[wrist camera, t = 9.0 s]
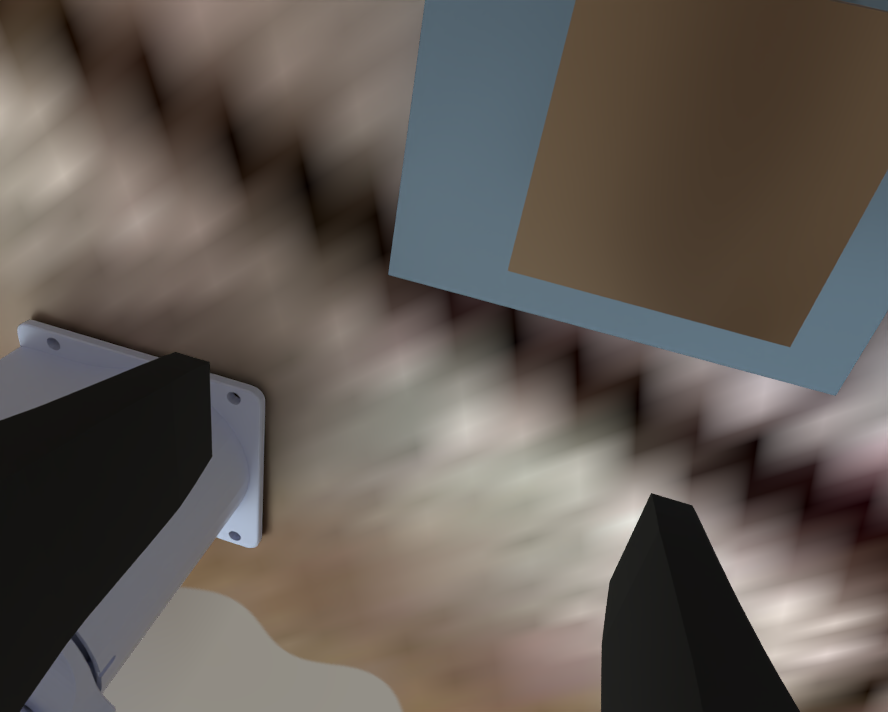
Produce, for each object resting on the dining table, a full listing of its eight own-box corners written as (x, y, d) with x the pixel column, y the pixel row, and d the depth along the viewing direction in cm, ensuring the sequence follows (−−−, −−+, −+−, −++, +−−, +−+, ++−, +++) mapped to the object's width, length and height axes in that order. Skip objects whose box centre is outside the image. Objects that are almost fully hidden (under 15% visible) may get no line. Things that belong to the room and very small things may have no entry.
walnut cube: (541, 189, 16) (507, 270, 12) (604, -50, 13) (588, -51, 9) (749, 242, 16) (790, 347, 11) (859, 4, 13) (964, 28, 9)
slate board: (401, 258, 19) (388, 274, 18) (482, -305, 13) (469, -329, 12) (824, 370, 18) (835, 395, 17) (1159, -199, 11) (1208, -213, 10)
